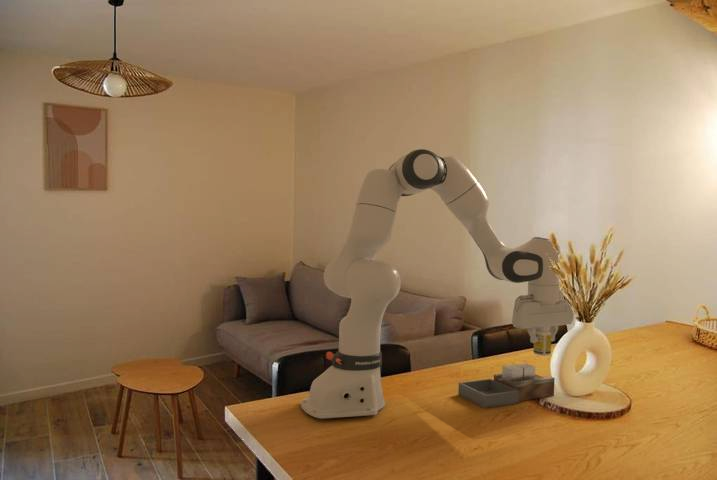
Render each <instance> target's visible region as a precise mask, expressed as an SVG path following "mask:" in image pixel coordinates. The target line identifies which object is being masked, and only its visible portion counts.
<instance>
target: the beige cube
mask: <svg viewBox="0 0 717 480" xmlns="http://www.w3.org/2000/svg"><path fill="white" fill-rule="evenodd" d="M501 369H502V370H501V371H502V373H501V374H502V380H503V381H506V382H508V383H510V384H512V382H517V381H523V368H521V367H519V366H516V365H515V364H509V365H502V368H501Z"/></svg>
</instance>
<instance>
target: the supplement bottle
mask: <svg viewBox="0 0 717 480" xmlns="http://www.w3.org/2000/svg"><path fill="white" fill-rule="evenodd" d="M550 329H551V328H550V326H545V327H537V328H536V331H534V332H535V335H536V336H537V337H539V339H538V343H533V354H535V355H537V356H545V357H546V356H548V357H549V356H551V353H552V341H551V332H550Z"/></svg>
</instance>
